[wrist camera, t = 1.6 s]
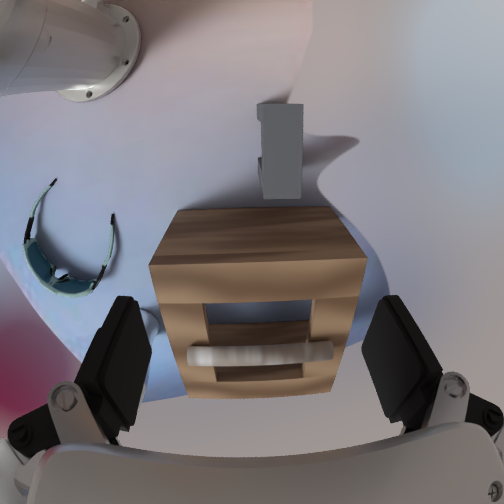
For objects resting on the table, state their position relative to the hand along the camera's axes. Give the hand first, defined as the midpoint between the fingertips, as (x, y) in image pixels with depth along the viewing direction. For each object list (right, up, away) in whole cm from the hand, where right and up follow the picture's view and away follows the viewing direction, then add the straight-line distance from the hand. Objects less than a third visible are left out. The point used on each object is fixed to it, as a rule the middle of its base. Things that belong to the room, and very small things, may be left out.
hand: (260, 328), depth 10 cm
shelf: (0, -1, +27) cm, 27 cm away
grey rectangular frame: (+2, +15, +18) cm, 24 cm away
